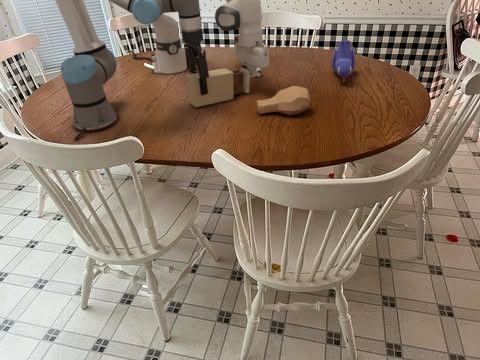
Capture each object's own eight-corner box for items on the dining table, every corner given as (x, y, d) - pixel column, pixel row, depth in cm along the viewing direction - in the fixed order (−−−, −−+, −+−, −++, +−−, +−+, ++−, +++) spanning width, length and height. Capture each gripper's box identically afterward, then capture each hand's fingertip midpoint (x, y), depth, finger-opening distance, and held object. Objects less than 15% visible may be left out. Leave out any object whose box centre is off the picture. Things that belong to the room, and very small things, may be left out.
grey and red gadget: (258, 80, 163) (278, 64, 175) (258, 69, 159) (279, 54, 172) (226, 73, 170) (248, 58, 183) (226, 62, 167) (248, 48, 179)
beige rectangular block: (225, 93, 149) (225, 68, 143) (233, 98, 145) (233, 72, 138) (188, 101, 142) (186, 74, 136) (195, 107, 137) (193, 79, 131)
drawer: (253, 86, 154) (254, 65, 149) (260, 90, 150) (261, 69, 145) (209, 95, 145) (208, 73, 140) (215, 100, 141) (214, 77, 136)
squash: (314, 116, 128) (313, 95, 122) (259, 125, 130) (256, 105, 124) (308, 99, 136) (307, 78, 129) (257, 108, 138) (253, 88, 131)
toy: (330, 77, 169) (331, 86, 146) (332, 39, 162) (333, 43, 140) (352, 76, 166) (356, 85, 144) (355, 38, 160) (360, 41, 137)
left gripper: (214, 32, 119) (220, 96, 133) (189, 22, 133) (197, 81, 147) (194, 37, 117) (203, 102, 130) (171, 26, 130) (181, 86, 144)
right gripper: (273, 42, 132) (273, 79, 140) (244, 33, 147) (246, 67, 155) (259, 46, 130) (260, 82, 138) (231, 36, 145) (234, 70, 153)
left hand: (200, 91), depth 139 cm, fingers closed on beige rectangular block, 7 cm apart
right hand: (252, 74), depth 147 cm, fingers closed
